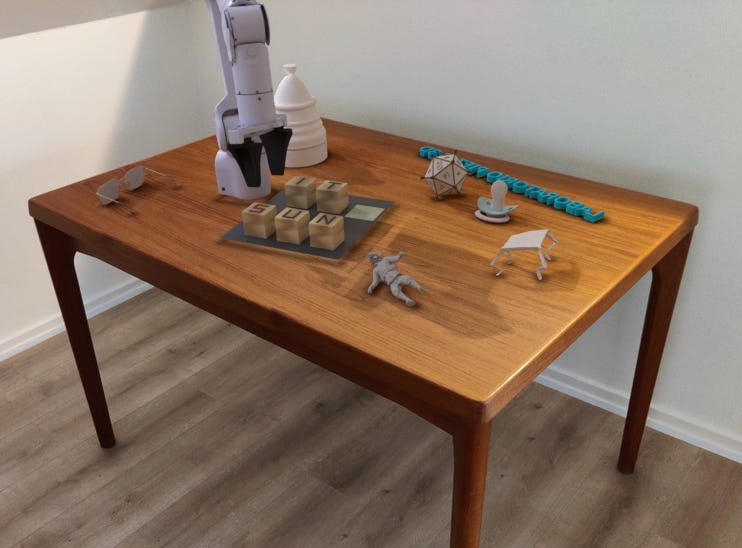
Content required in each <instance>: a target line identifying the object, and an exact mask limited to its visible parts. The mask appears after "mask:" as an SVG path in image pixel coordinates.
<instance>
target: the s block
mask: <svg viewBox="0 0 742 548" xmlns="http://www.w3.org/2000/svg"><path fill="white" fill-rule="evenodd" d="M276 216H277V210H276V206H275V205H269V204H265V203H262V202H255V201H254V202H253V203H251V204H250V205H249V206H247V207H246V208H245V209H243V210H242V211H241V219H242V221H243V226H244V234H245V235H248V236H253V237H259V238H264V239H267V238H268V237H269V236H270V235H271V234H273V233H274V232H275V231H276V226H275V217H276Z"/></svg>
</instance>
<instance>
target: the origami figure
mask: <svg viewBox="0 0 742 548" xmlns="http://www.w3.org/2000/svg"><path fill="white" fill-rule="evenodd" d="M546 237H547V238H549V240H551V241H553V243H551V245H550V246H549V247H548V248H547V249H546V250H545V251H544V253H543V251H542V245H543V243H544V241H545V239H546ZM558 243H559V240H557V238H556V237H555V236H554V235H553V234H552V233H551V229H548V228H547V229H546V228H545V229H536V230H528V231H525V232H520V233H517V234H512V235H510V237H509V239H507V241H506V242H505V243H504V245H502V247H500V249H499V252H498V253H497V254H496V256H495V257H494V259H493V260H492V261H491V262H490V263H489V266H491V267H493V268H495V269H497V270H499V272H498V273H496V274H495V276H499V275H500V274H502V273H503V272H504V269H502V268H501V267H499V266H497V265H495V263H496V262H497V261H498V260H499V259H500V258H501V257H502V255H504V254H505V252H506V255H507V257H508V259H509V261H508V262H507V265H510V264H511V263H512V261H513V260H514V259H513V256H512V253H511V252H518V251H537V253H538V256H539V259H540V261H541V264H542V265H540V266H538V267H536V269H535V273H536V275H537V278H538V280H540V281H541V280H542V279H543V276H542V274H541V272H540V271H541V270H546V269H547V268H548V263H547V261H551V260H552V258H551V257H550V256H549V255H548V254H547V253H548V252H549V251H551V249H553V248H554V247H555V246H556V245H557V244H558ZM545 258H546V259H547V260H546V259H545Z"/></svg>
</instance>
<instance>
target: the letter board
mask: <svg viewBox="0 0 742 548" xmlns="http://www.w3.org/2000/svg"><path fill="white" fill-rule="evenodd" d="M394 203H395V201H392V200H385V199H378V198H373V197H367V196H359V195H352V194H349V184H348V182H341V181H335V180H328V179H326V180H324V181H323V182H322V183H321V184H320V185H317V178H315V177H308V176H301V175H295V176H293V177H292V178H290V179H289V180H288V181H287V182H285V183H284V188H283V189H281V190H280V191H279V192H278V193H276V194H275V195H274V196H272V197H271V198H269V200H268V201H266V202H265V203H264V204H269V205H275V206H276V210H277V216H276V217H275V226H276V231H275V232H274V233H273V234H271V235H270V236H269V237H268V238H267V239H264V238H259V237H253V236H248V235H245V234H244V226H243V220H241V221H240V222H239V223H237V224H236V225H235V226H233V227H232V228H230V229H229V230H228V231H227V232H225V233H224V234H222V236H220V237H219V238H220V239H222V240H228V241H232V242H233V241H234V242H239V243H245V244H250V245H255V246H261V247H266V248H270V249H277V250H283V251H288V252H293V253H297V254H298V253H299V254H304V255H310V256H316V257H320V258H325V259H331V260H336V261H339V260H340V259H341V258H342V257H343V256H344V255H345V254H346V253H347V252H348V251H349V250H350V249H351V248H352V247H353V246H354V245H355V244H356V243H357V242H358V241H359V240H360V239H361V237H362V236H363V235H364V234H365V233H367V231H368V230H369V229H370V228H371V227H372V226H373V225H374V224H375V223H376V222H377V221H378V220H379V219H380V218H381V217H382V216H383V215H384V213H386V211H388V209H390V208H391V206H392V205H393V204H394Z"/></svg>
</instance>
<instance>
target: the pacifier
mask: <svg viewBox="0 0 742 548" xmlns="http://www.w3.org/2000/svg"><path fill="white" fill-rule="evenodd" d="M507 193H508V189H507V185H506V183H505V182H503V181H501V180H498V181H495V182H494V183H491V188H490V195H491V196H492V199H490V198H489V197H485V196H480V197H479V198H478V199H477V206H478V208H479V209H477V210H476V211H475V212H474V215H475V217H476V218H478V219H480V220H482V221H485V222H487V223H488V222H489V223H494V224H495V223H498V224H501V223H507V222H509V220H510V219H511V218H510V216H509V214H510V213H512V212H514V211H516V210H517V209H518V208H519V204H513V205H506V206H505V205H504V204H505V203H504V202H505V197H506V196H507ZM484 214H486V215H484Z"/></svg>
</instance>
